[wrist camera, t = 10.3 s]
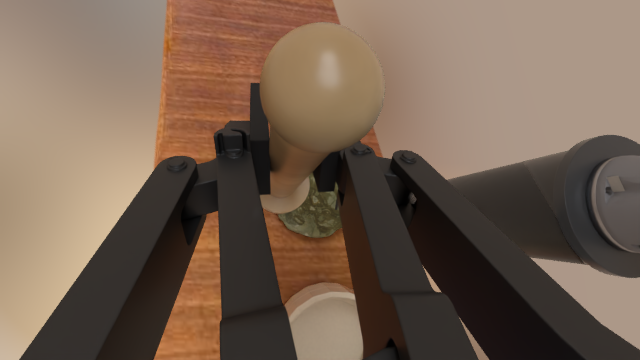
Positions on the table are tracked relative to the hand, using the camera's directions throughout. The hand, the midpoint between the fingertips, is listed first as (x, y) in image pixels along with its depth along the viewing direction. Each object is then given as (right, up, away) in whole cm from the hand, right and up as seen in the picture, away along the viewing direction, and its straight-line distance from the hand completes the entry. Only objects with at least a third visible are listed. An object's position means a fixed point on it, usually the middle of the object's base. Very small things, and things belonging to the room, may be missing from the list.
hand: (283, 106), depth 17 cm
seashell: (+1, -6, +22) cm, 23 cm away
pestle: (-1, -5, +6) cm, 8 cm away
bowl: (+3, -24, +20) cm, 31 cm away
